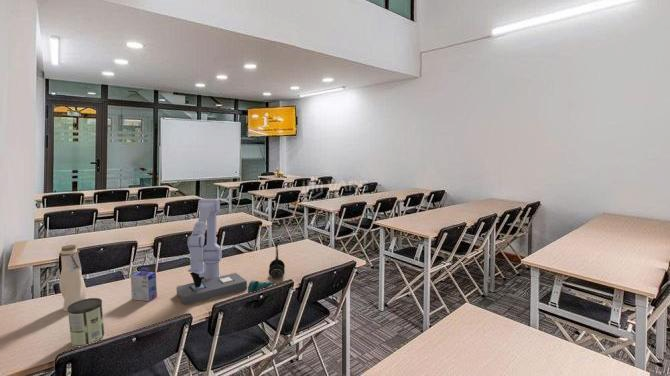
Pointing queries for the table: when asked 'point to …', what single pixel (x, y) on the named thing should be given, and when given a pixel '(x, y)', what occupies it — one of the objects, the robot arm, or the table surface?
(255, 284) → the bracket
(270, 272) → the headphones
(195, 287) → the slate blue key
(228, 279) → the white key
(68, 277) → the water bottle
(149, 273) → the ink cartridge box
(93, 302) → the coffee can
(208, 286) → the key panel
